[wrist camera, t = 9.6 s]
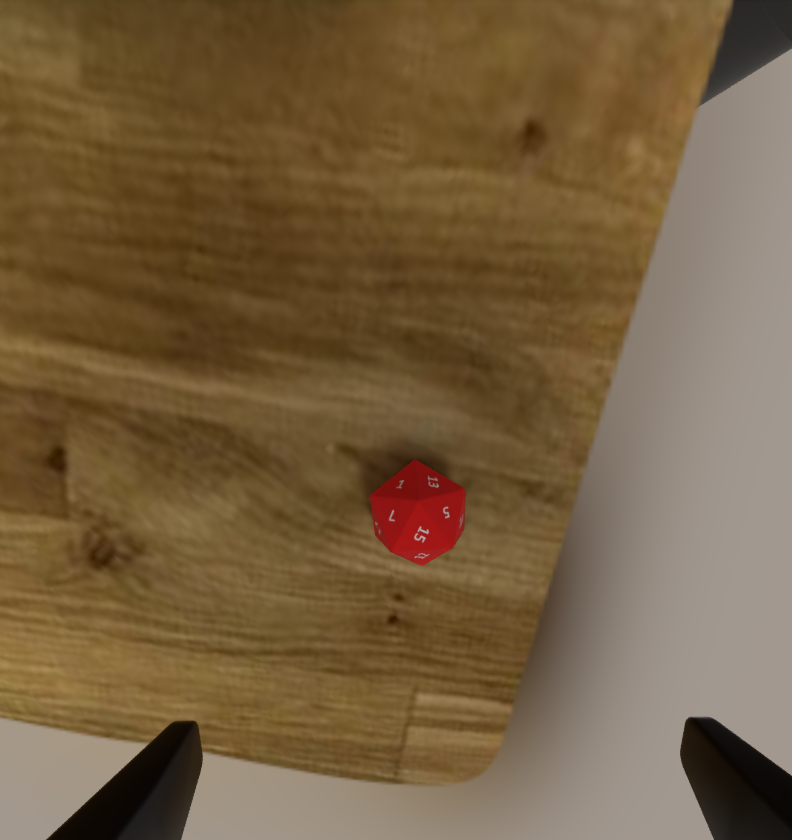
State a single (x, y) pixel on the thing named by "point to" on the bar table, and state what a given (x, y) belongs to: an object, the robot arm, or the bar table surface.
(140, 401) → the bar table surface
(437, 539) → the die
